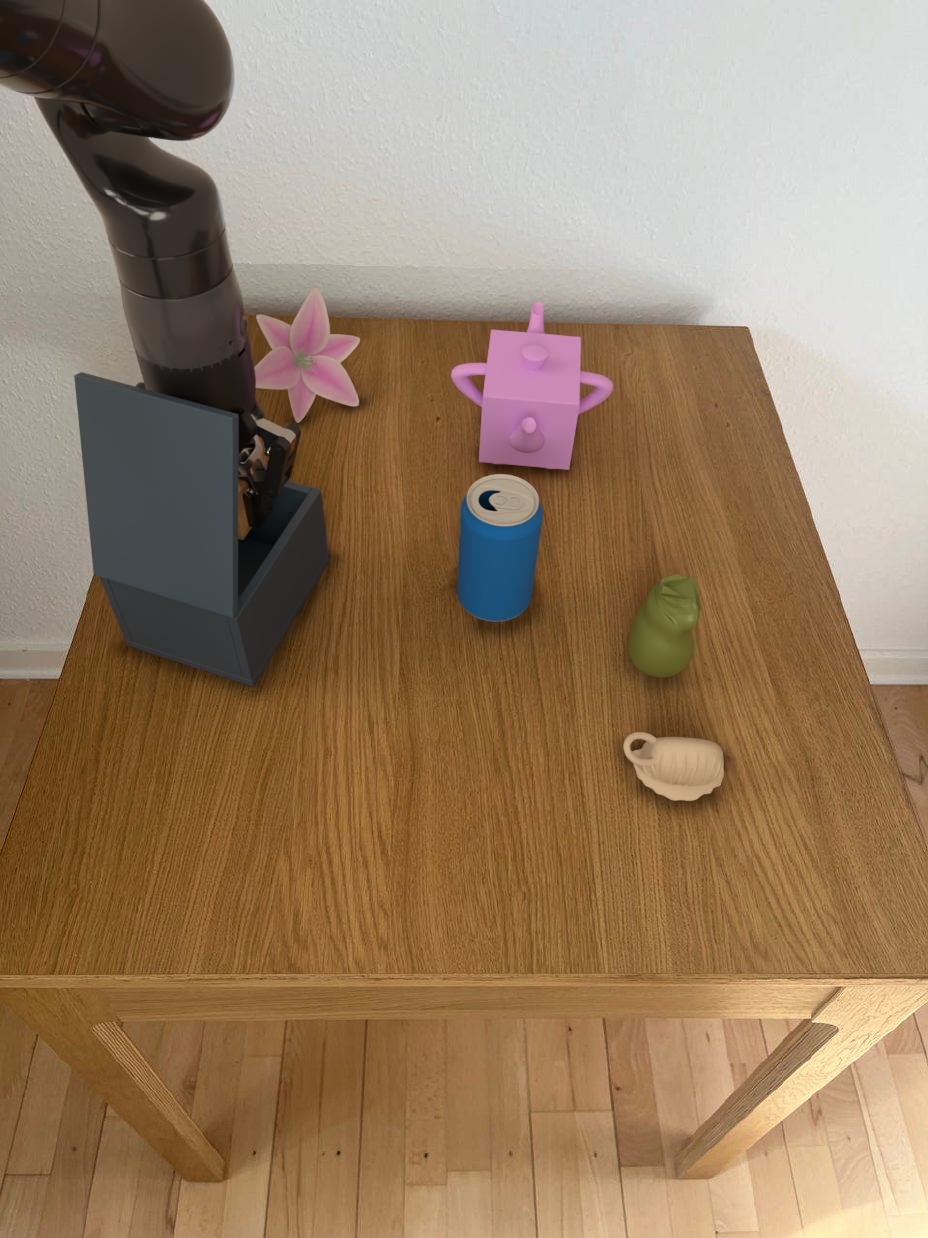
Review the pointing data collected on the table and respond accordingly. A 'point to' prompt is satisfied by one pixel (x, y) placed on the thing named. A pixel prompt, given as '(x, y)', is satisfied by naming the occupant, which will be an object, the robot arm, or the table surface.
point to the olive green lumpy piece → (665, 627)
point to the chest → (267, 596)
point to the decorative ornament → (677, 765)
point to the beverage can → (498, 547)
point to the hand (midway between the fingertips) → (230, 511)
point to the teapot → (530, 395)
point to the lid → (161, 492)
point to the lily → (306, 358)
